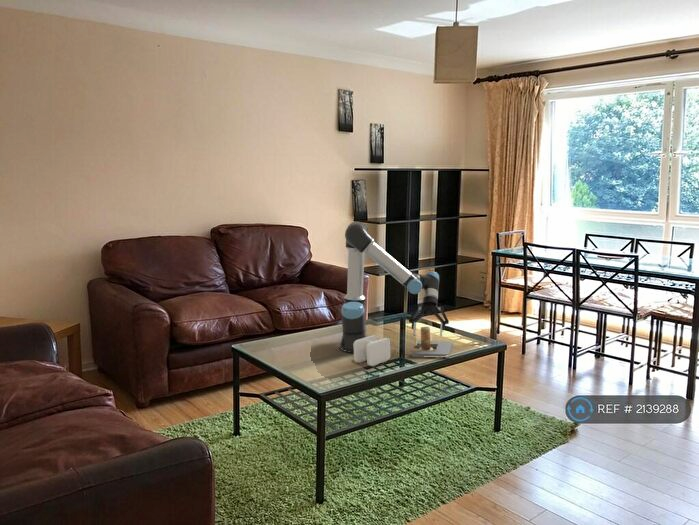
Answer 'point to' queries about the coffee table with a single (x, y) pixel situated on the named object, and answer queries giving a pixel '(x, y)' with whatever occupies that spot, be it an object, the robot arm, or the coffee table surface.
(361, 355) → the cable organizer
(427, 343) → the bobbin
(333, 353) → the coffee table surface
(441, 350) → the notched board
